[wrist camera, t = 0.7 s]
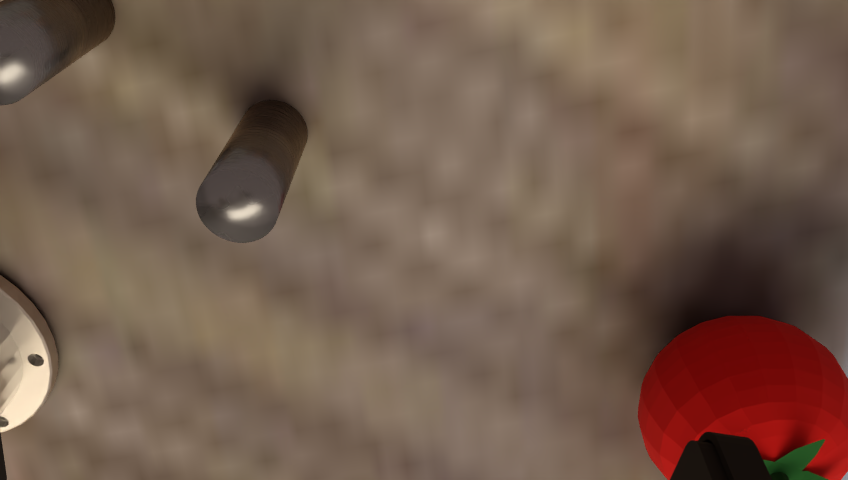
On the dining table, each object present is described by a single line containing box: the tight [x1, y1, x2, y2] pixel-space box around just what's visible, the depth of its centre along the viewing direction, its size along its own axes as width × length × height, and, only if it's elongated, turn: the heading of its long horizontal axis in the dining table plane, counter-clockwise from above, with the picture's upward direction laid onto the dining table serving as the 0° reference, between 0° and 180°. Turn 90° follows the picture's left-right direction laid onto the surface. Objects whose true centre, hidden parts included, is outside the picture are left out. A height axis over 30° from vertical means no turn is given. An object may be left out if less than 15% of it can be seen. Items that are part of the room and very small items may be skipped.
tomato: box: [638, 316, 848, 480], centre depth 39 cm, size 10×10×10 cm
